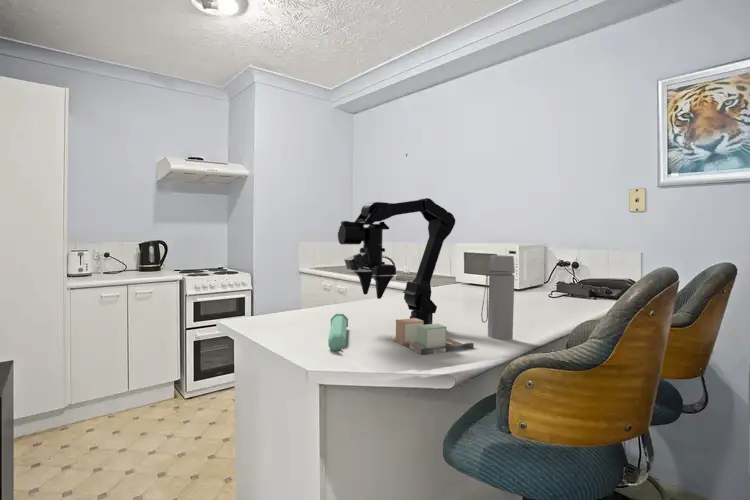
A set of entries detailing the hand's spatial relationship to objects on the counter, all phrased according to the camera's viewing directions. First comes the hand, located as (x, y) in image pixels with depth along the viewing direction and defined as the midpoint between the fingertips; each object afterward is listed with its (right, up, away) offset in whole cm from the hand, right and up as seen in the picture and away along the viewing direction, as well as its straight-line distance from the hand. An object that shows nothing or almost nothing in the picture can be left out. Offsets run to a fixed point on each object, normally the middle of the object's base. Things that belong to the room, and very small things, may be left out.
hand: (372, 296), depth 127 cm
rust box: (+10, -11, -10) cm, 19 cm away
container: (-10, -13, -4) cm, 17 cm away
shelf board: (+16, -13, -12) cm, 24 cm away
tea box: (+16, -12, -17) cm, 26 cm away
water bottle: (+37, -13, -2) cm, 39 cm away
